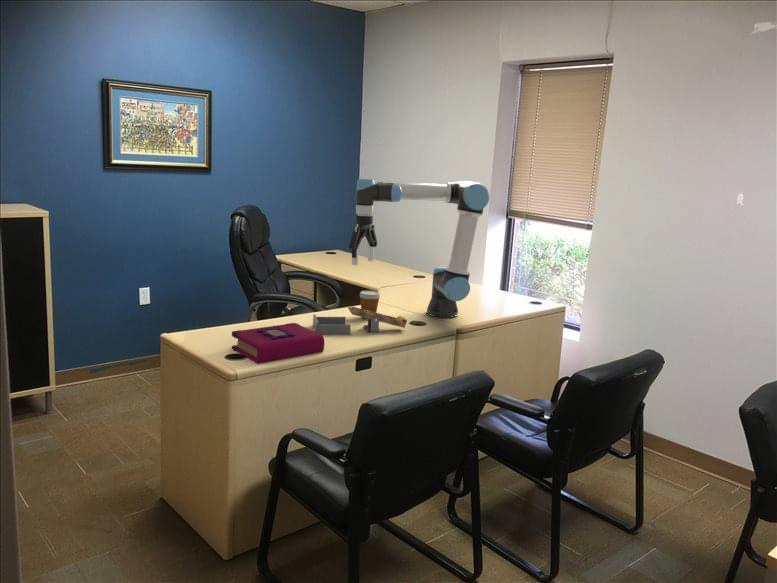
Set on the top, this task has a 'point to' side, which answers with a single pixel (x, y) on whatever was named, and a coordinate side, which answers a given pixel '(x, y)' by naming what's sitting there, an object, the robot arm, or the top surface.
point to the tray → (330, 325)
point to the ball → (400, 318)
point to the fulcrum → (373, 325)
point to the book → (277, 342)
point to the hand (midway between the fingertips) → (362, 263)
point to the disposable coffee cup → (369, 300)
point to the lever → (381, 317)
